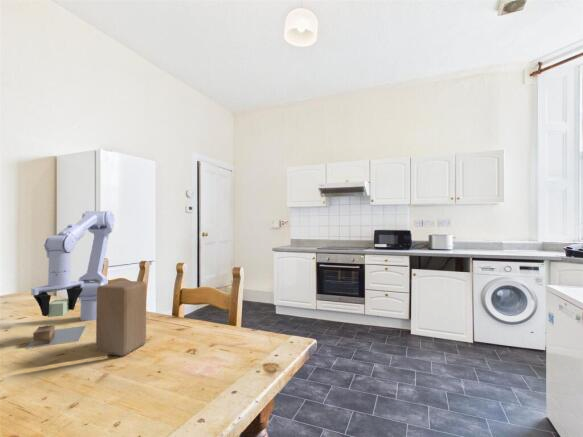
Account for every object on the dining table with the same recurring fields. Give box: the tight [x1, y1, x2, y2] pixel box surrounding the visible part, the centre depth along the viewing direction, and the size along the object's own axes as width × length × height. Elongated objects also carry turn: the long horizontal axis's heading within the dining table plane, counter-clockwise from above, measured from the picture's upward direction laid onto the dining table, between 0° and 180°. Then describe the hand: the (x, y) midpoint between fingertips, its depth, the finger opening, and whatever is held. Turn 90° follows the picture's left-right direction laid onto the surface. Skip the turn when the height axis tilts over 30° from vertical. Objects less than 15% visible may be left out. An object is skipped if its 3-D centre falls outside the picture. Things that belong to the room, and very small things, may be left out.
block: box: [95, 280, 147, 357], centre depth 91 cm, size 10×10×20 cm
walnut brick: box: [32, 324, 56, 346], centre depth 94 cm, size 4×6×4 cm, turn 27°
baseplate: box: [24, 325, 87, 350], centre depth 98 cm, size 13×16×1 cm
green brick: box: [47, 298, 70, 318], centre depth 98 cm, size 4×6×4 cm, turn 22°
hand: (58, 312), depth 98 cm, fingers closed on green brick, 7 cm apart
